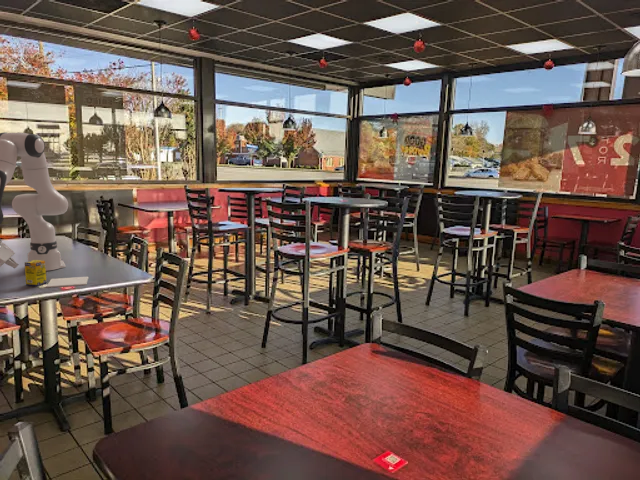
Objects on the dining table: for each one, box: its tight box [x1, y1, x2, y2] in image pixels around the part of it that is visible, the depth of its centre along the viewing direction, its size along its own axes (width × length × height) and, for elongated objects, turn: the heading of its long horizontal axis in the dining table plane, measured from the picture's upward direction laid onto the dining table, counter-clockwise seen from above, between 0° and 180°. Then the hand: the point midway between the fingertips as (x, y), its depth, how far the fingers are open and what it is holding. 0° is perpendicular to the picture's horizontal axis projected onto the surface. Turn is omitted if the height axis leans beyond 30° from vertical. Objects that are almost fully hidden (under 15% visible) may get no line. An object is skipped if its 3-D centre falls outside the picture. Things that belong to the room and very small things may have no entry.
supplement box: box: [24, 260, 48, 287], centre depth 215 cm, size 6×6×11 cm
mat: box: [46, 276, 89, 288], centre depth 221 cm, size 14×16×1 cm
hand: (16, 266), depth 212 cm, fingers closed
